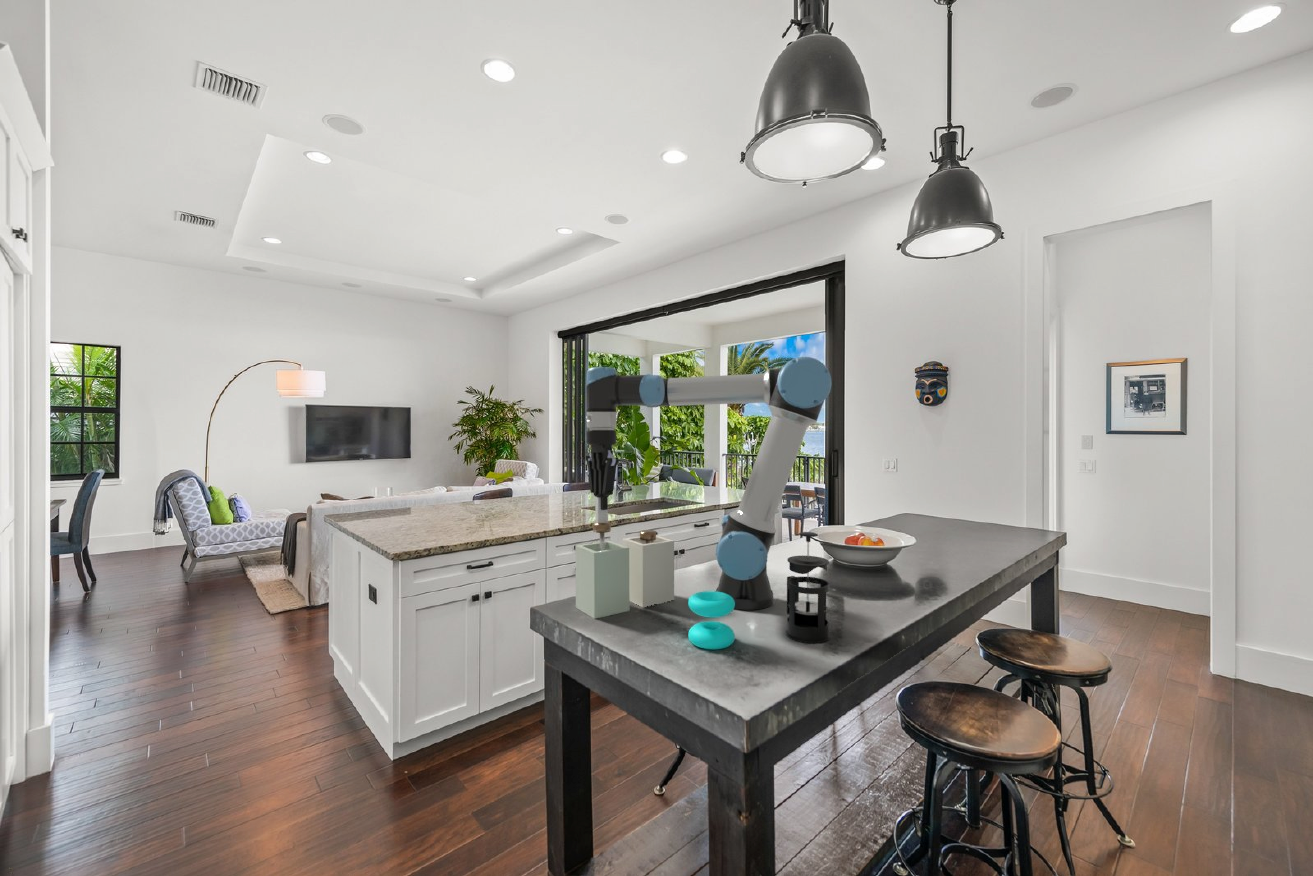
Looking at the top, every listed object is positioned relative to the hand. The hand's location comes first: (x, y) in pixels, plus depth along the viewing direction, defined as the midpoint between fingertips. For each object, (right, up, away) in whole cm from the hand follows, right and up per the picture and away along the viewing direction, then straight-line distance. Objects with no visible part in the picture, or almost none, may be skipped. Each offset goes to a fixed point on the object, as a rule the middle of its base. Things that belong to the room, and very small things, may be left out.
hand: (601, 522), depth 140 cm
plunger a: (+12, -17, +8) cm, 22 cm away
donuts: (+26, -23, -21) cm, 40 cm away
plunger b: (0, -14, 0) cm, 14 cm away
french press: (+47, -23, -17) cm, 55 cm away
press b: (0, -22, +1) cm, 22 cm away
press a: (+12, -22, +9) cm, 26 cm away
